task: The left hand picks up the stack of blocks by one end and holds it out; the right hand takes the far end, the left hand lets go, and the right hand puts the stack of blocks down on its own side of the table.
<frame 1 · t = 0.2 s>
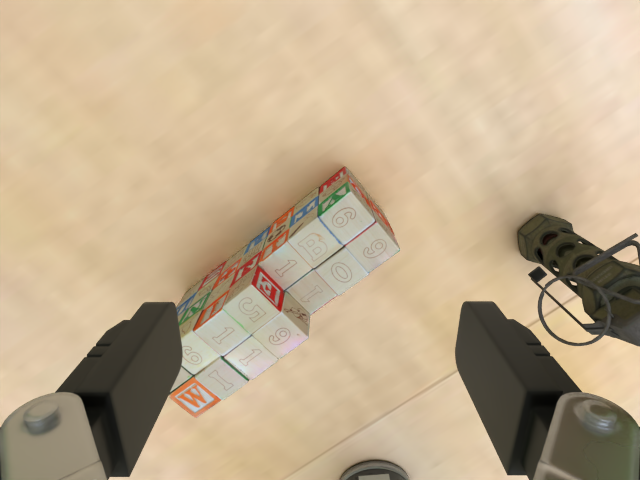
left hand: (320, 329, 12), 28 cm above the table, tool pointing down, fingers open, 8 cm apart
stack of blocks: (280, 254, 41), on the table
grenade: (526, 237, 40), on the table
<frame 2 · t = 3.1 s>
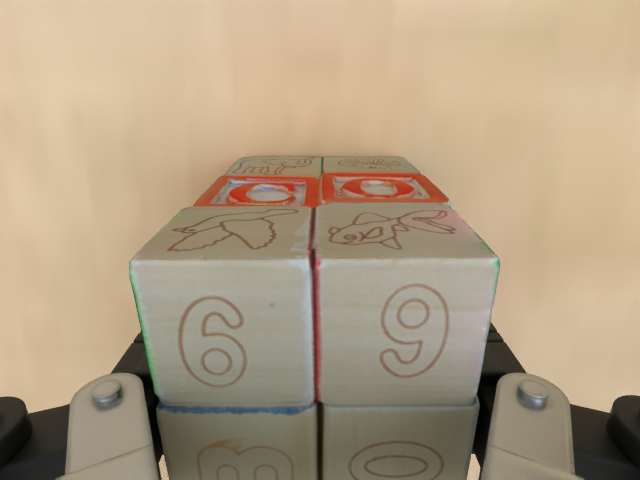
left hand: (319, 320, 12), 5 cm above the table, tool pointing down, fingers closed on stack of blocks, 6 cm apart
stack of blocks: (320, 385, 19), on the table, touching left hand
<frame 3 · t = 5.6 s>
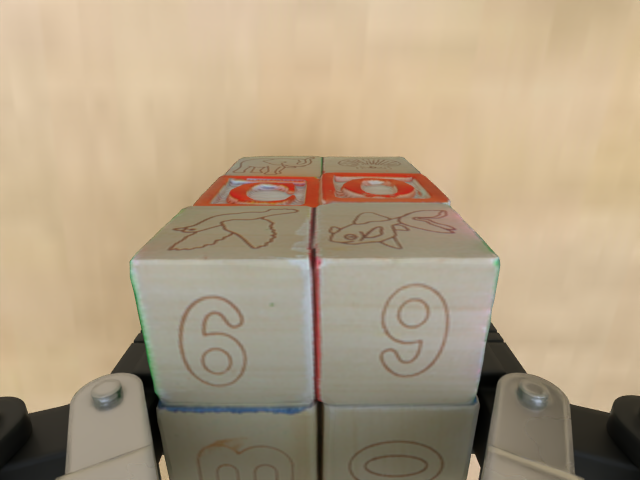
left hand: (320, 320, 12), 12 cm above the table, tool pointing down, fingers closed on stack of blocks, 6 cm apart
stack of blocks: (319, 384, 19), point 7 cm above the table, touching left hand
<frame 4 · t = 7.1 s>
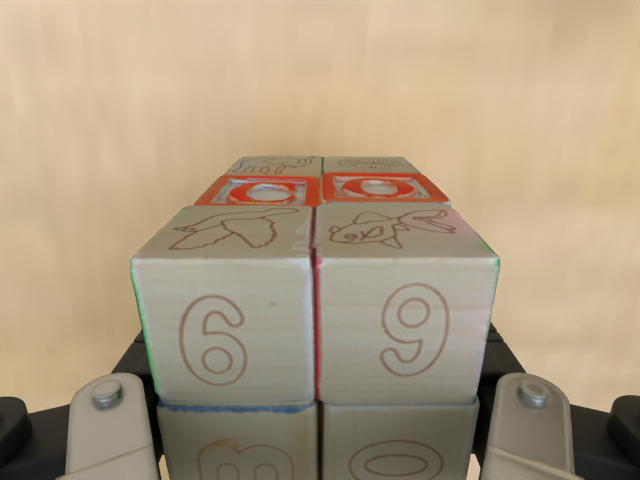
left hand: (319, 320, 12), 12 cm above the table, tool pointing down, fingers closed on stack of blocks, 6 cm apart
stack of blocks: (319, 384, 19), point 7 cm above the table, touching left hand, right hand
when the left hand's fingers open (12 cm above the table, at t = 8.4 s): stack of blocks moves 2 cm, held by the right hand.
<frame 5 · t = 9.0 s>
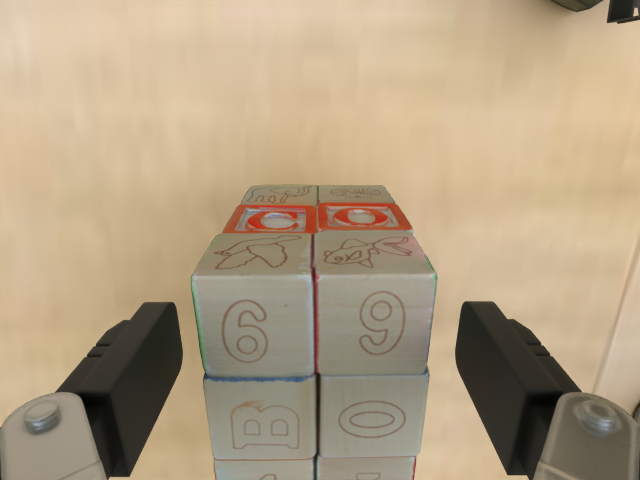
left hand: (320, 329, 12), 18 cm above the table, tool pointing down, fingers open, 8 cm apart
stack of blocks: (315, 374, 22), point 10 cm above the table, touching right hand
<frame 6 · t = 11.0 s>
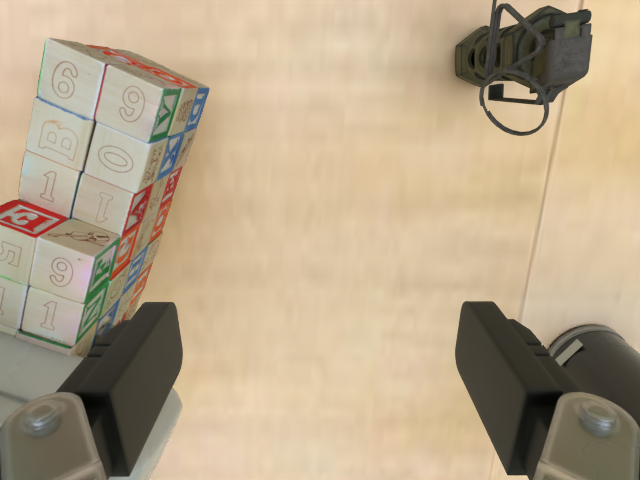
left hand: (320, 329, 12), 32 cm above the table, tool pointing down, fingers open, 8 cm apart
stack of blocks: (131, 199, 33), point 10 cm above the table, touching right hand
grenade: (470, 70, 38), on the table
when the right hand's fingers open (8 cm above the table, at t = 14.9 s): stack of blocks drops 1 cm, on the table.
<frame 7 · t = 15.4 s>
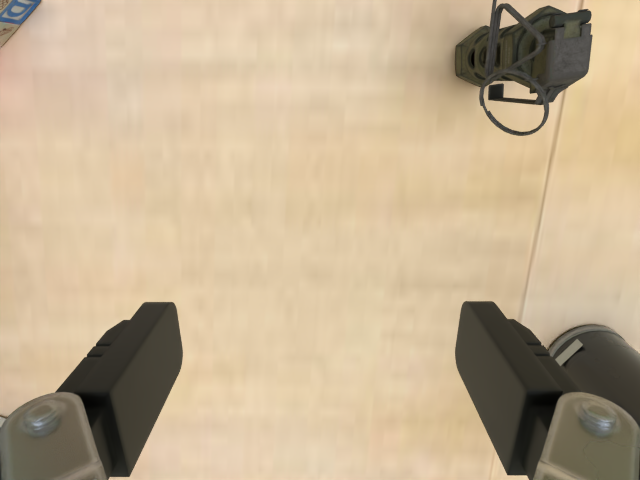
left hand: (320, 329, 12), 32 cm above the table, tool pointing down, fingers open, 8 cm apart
grenade: (470, 70, 38), on the table
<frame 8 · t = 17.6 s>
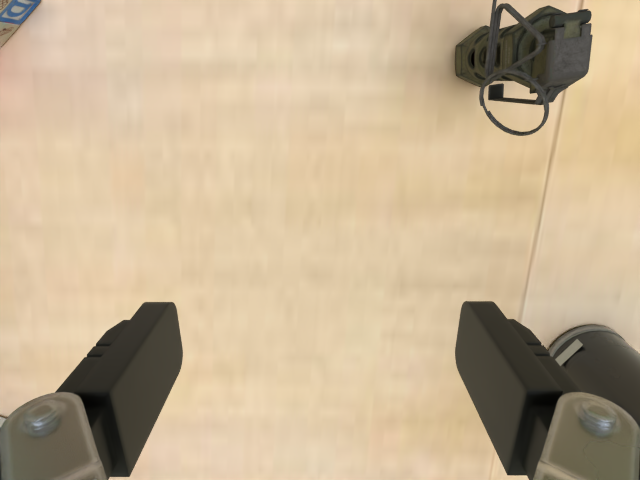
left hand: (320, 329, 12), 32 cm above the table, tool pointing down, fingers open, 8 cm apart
grenade: (470, 70, 38), on the table
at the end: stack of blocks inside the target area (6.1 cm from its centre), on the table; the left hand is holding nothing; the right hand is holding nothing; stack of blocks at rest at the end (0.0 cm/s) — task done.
